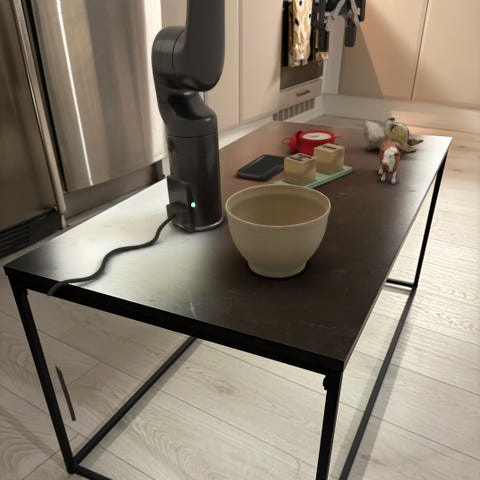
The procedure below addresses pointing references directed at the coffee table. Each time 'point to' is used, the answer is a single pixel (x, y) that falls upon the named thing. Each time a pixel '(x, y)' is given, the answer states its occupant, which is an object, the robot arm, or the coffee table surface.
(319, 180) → the word board
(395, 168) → the bull figurine
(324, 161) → the slotted coin box
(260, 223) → the planter bowl
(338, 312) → the coffee table surface
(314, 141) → the alarm clock
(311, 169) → the light wooden block
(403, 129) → the ceramic sculpture
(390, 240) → the coffee table surface
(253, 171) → the phone
